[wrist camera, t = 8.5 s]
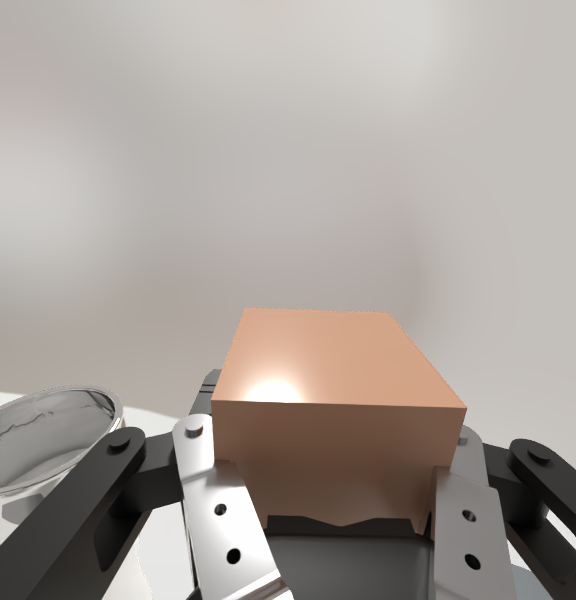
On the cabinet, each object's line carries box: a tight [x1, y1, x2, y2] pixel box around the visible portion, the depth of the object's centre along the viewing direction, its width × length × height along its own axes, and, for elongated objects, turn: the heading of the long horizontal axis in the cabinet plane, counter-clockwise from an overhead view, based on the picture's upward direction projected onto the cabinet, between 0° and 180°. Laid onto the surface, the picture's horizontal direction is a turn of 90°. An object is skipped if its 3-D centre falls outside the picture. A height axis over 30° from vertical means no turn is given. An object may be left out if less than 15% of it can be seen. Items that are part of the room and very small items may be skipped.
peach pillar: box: [211, 308, 467, 533], centre depth 12 cm, size 6×6×9 cm
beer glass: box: [0, 385, 153, 600], centre depth 16 cm, size 7×7×15 cm
